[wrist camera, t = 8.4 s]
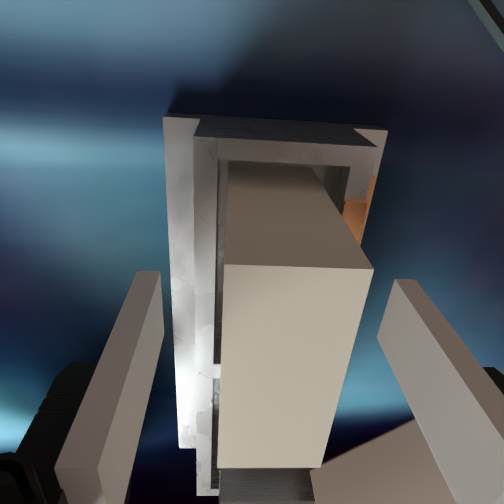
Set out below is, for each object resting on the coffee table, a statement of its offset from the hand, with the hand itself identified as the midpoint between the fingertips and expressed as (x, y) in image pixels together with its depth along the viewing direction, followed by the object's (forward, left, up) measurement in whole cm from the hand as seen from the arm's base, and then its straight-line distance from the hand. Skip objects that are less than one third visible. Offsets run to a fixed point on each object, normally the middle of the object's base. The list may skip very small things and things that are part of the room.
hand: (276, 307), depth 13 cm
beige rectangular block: (0, 0, -5) cm, 5 cm away
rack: (+5, 0, -6) cm, 8 cm away
